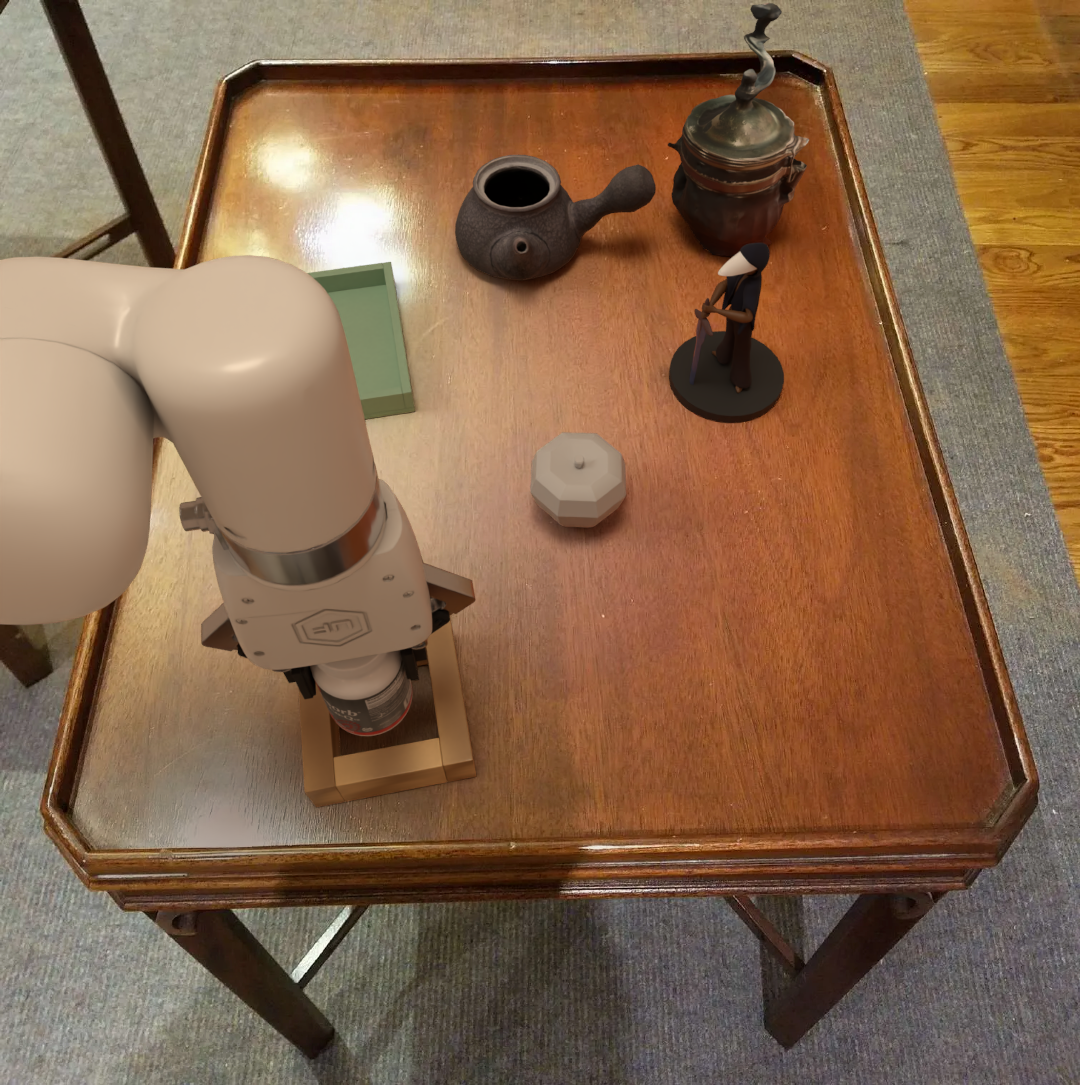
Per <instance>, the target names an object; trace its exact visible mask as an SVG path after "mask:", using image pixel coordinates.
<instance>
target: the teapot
mask: <svg viewBox="0 0 1080 1085" xmlns="http://www.w3.org/2000/svg"><path fill="white" fill-rule="evenodd" d="M472 179H473V181H472V187H471V188H470V190H469V191H468V192H467V193H466V196H465V197H464V199H463V201H462V202H461V206H460V207H459V210H458V213H457V216H456V219H455V226H454V235H455V236H454V237H455V241H456V245H457V248H458V250H459V253H460V255H461V256H462V258H463V259H464V260H465V261H466V262H467V263H468V264H469V266H471V267H473V269H475V270H476V271H479V272H482V273H484V274H486V275H488V276H491V277H494V278H497V279H504V280H511V281H526V280H532V279H537V278H541V277H544V276H548V275H550V274H553V273H555V272H557V271H558V270H560V269H562V268H563V267H564V266H565V265H567V264H568V263H569V262H570V261H571V260H572V259H573V257H574V256H575V254H576V252H577V251H578V249H579V247H580V244H581V241H582V238H583V236H584V235H585V234H586V233H587V232H589V231H590V230H591V229H593V228H594V227H595V226H596V225H597V224H598V223H599V222H600V221H601V220H602V219H603V218H604V217H606V216H608V215H611V214H618V213H620V214H621V213H635V212H637V211H638V210H640V209H642V208H644V207H646V206H647V205H648V204H649V203H651V201H652V199H653V198H654V196H655V195H656V191H657V190H656V189H657V187H656V182H655V180H654V177H653V174H652V172H651V171H650V170H649V169H648V168H647V167H646V166H643V165H642V164H635V165H630V166H627V167H625V168H623V169H621V170H619V171H618V172H617V173H616V174H615V175H614V176H613V177H612V178H611V180H610V182H609V183H608V184H607V186H606V187H605V188H604V189H603V190H602V191H601V192H600V193H599V194H597V195H596V196H594V197H591V198H585V199H580V200H577V201H575V202H574V201H573V199H572V198H571V196H570V195H569V193H568V191H567V190H566V189H565V188H564V186H562V184H561V183H562V180H561V176H560V174H559V172H558V170H557V169H556V168H555V167H554V166H553V165H552V164H550V163H549V162H548V161H546V160H543V159H541V158H539V157H537V156H532V155H529V154H507V155H502V156H498V157H496V158H493V159H490V160H489V161H488V162H486V163H485V164H483V165H481V166H480V167H479V169H478V170H476V173H475V174H474V177H473V178H472Z"/></svg>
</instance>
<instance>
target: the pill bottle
mask: <svg viewBox="0 0 1080 1085" xmlns="http://www.w3.org/2000/svg"><path fill="white" fill-rule="evenodd" d="M310 669H311V673H312V676H313V678H314V680H315V682H316V684H317V686H318V689H319V691H320V693H321V695H322V697H323V699H324V701H325V704H326V706H327V708H328V710H329V712H330V714H331V716H332V718H333V719H334V720H335V722H336V723H337V724H338V725H339V728H341V729H342V730H344V731H346V732H347V733H348V734H349V733H350V734H352V735H355V736H359V737H373V736H377V735H381V734H382V735H383V734H385V733H387V732H389V731H391V730H393V729H394V728H395V727H397V726H398V725H399V724H400V723H401V722H402V721H403V719H404V718H405V717H406V716H407V713H408V712H409V711H410V708H411V705H412V701H413V685H412V684H413V683H412V681H411V680H410V679H407V676H406V673H405V669H404V665H403V661H402V658H401V652H400V650H397V651H392V652H387V653H382V654H376V655H370V656H365V657H359V658H353V659H347V660H342V661H336V662H329V663H323V664H317V665H311V666H310Z"/></svg>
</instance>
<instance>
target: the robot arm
mask: <svg viewBox="0 0 1080 1085" xmlns="http://www.w3.org/2000/svg"><path fill="white" fill-rule="evenodd" d="M308 273H309V272H306V271H304V270H303V269H301V268H299V267H298V266H295V265H294V264H292V263H289V262H287V261H284V260H280V259H277V258H275V257H274V258H273V257H270V256H264V255H262V256H261V255H251V254H249V255H229V256H223V257H217V258H214V259H210V260H206V261H203V262H200V263H198V264H195V265H192V266H190V267H188V268H183V269H182V268H169V267H166V268H165V267H153V266H152V267H151V266H141V265H140V266H139V265H133V264H132V265H130V264H124V263H123V264H122V263H113V262H103V261H95V260H86V259H75V258H66V257H55V256H14V257H8V258H2V259H0V625H8V626H9V625H11V626H34V625H46V624H47V625H48V624H57V623H62V622H66V621H71V620H76V619H79V618H84V617H85V616H88V615H91V614H93V613H95V612H97V611H99V610H101V609H104V608H106V607H108V606H109V605H110V604H111V603H113V602H114V601H116V600H117V599H118V598H119V597H121V596H122V595H123V594H124V593H125V592H126V591H127V590H128V588H130V586H131V585H132V583H133V581H134V580H135V578H136V577H137V576H138V574H139V572H140V570H141V568H142V565H143V564H144V559H145V556H146V553H147V549H148V545H149V537H150V530H151V514H152V494H153V460H154V458H153V457H154V439H156V438H163V439H166V440H167V441H169V442H171V443H172V444H173V446H174V448H175V450H176V452H177V454H178V456H179V458H180V460H181V461H182V463H183V465H184V467H185V469H186V471H187V473H188V474H189V475H188V476H189V477H190V478H191V480H192V483H193V484H194V486H195V488H196V490H197V492H198V493H199V495H200V496H198V497H196V498H195V500H191V501H183V502H180V503H179V507H178V511H179V512H178V513H179V519H180V524H181V526H182V528H183V531H185V532H193V531H197V530H198V531H199V530H200V531H201V532H203V533H206V532H209V534H211V535H213V540H212V547H211V548H212V549H211V550H212V551H211V553H212V562H213V570H214V574H215V578H216V582H217V586H218V589H219V593H220V596H221V599H222V603H221V604H220V605H219V606H218V607H217V608H216V609H214V611H212V612H211V614H209V616H208V617H207V618H205V619H204V620H203V621H202V622H201V624H200V626H201V627H200V633H201V634H200V644H201V646H203V647H206V648H209V649H216V650H220V651H226V652H232V651H237V655H238V657H242V658H244V659H247V660H248V661H249V662H251V663H252V664H253V665H254V666H256V667H257V668H260V669H263V670H268V671H269V670H270V671H272V672H274V673H283V675H284V677H285V679H286V681H287V683H288V684H294V683H295V684H296V686H297V689H298V688H299V690H300V692H301V694H302V696H303V698H304V699H310V698H313V696H315V695H316V683H315V680H314V678H313V676H312V673H311V669H310V666H311V665H317V664H323V663H329V662H336V661H342V660H347V659H353V658H359V657H365V656H370V655H376V654H382V653H387V652H392V651H397V650H400V652H401V658H402V661H403V665H404V669H405V673H406V676H407V679H410V680H411V682H414V681H418V680H420V677H419V669H418V666H417V661H422V660H427V655H426V648H425V647H426V646H427V645H428V640H427V638H428V637H429V636H430V635H431V634H432V633H434V632H435V631H437V630H438V629H439V628H441V627H442V626H444V625H445V624H447V623H448V622H449V621H450V618H451V616H452V615H457V614H459V613H460V612H461V611H463V610H465V609H466V608H468V607H470V606H471V605H472V604H474V603H475V602H476V599H477V598H476V594H475V589H474V582H473V580H472V579H471V578H468V577H465V576H463V575H459V574H457V573H454V572H451V571H448V570H446V569H444V568H443V569H442V568H440V567H438V566H434V565H432V564H429V563H426V562H424V560H423V555H422V553H421V548H420V546H419V543H418V540H417V537H416V534H415V531H414V529H413V526H412V524H411V521H410V519H409V517H408V516H407V515H408V514H407V513H406V511H405V508H404V507H403V505H402V503H401V501H400V500H399V498H398V496H397V495H396V493H394V491H393V490H392V489H391V487H390V486H389V485H388V483H386V481H385V480H383V479H382V478H379V474H378V469H377V466H376V463H375V457H374V454H373V453H374V452H373V449H372V444H371V442H370V437H369V433H368V432H369V431H368V427H367V423H366V419H365V418H364V413H363V409H362V405H361V400H360V396H359V392H358V387H357V383H356V379H355V374H354V370H353V366H352V361H351V357H350V353H349V348H348V344H347V340H346V335H345V332H344V328H343V325H342V322H341V319H340V315H339V312H338V310H337V308H336V306H335V304H334V302H333V300H332V299H331V297H330V296H329V295H328V293H327V292H326V290H325V289H324V288H323V287H322V286H321V285H320V284H319V283H318V282H317V281H316V280H315V279H314V278H313V277H312V276H311V275H309V274H308Z"/></svg>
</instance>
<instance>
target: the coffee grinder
mask: <svg viewBox="0 0 1080 1085" xmlns="http://www.w3.org/2000/svg"><path fill="white" fill-rule="evenodd" d="M749 10H750V12H751V14H752V17H753V18H754V19H755V20H756V22H755V26H754V29H753V30H754V31H752V32H749V33H747V34H744V36H743V40H744V41H745V43H746V44H747V45H748V48H749V49H750V50H751V51H752V52H753V53H754V54H755V55H756V56H757V57H758V61H759V62H760V64H759V65H760V67H759V68H760V71H759V72H758V73H756V71H755V70H754V69H753V68H749V69H747V70H745V71H744V72H743V74H742V77H741V79H740V80H741V81H740V85H739V86H737V88H736V89H735V91H734V94H725V95H721V96H718V97H716V98H710V99H708V100H706V101H702V102H700V103H698V104H696V105H695V106H694V107H693V108H692V110H691V111H690V114H688V115H687V118H686V120H685V122H684V124H683V126H682V129H681V136H680V137H679V138H678V139H677V140H676V142H675V143H672V142H668V143H667V147H669V148H671V149H672V150H673V149H674V150H675V152H677V153H678V155H679V159H680V164H679V165H678V168H677V170H676V172H675V173H674V175H673V179H672V181H673V183H672V184H673V185H672V188H671V191H672V192H671V201H672V204H673V205H674V207H675V209H676V210H677V212H678V213H679V214H680V216H681V218H682V219H683V221H684V222H685V223H686V225H687V226H688V227H689V229H690V231H691V234H692V235H693V236H694V238H695V240H696V241H698V243H699V245H700V246H701V247H702V249H703V250H706V251H707V252H708V253H710V254H711V255H712V256H722V257H733V256H734V255H736V254H737V253H738V252H740V249H741V248H742V247H743V246H744V245H746V244H751V243H764V244H766V245H767V246H769V245H771V244H772V243H773V242H772V240H770V238H768V237H767V236H768V235H769V234H771V233H772V232H773V230H774V229H775V227H776V226H777V224H778V222H779V221H780V219H781V217H782V213H783V209H784V206H785V205H786V204H788V203H790V202H791V201H792V200H793V199H794V196H795V192H796V187H797V186H798V184H799V183H800V182H801V179H802V178H803V175H804V174H805V172H806V169H807V167H808V164H806V163H805V162H803V161H802V160H799V159H796V158H795V157H796V156H797V155H798V153H800V152H801V151H802V150H803V149H804V148H805V146H807V144H808V143H809V141H810V139H809V138H808V137H803V136H800V135H796V133H795V122H794V121H793V120H792V119H791V118H790V117H789V116H788V115H786V113H785V112H784V111H783V109H781V108H780V107H778V106H776V105H775V104H774V103H772V102H771V101H768V100H766V99H762V98H758V97H757V96H758V95H759V94H760V93H761V92H762V91H764V90H766V89H767V88H769V86H770V85H771V84H772V83H773V81H774V79H775V77H776V76H775V75H776V67H775V64H774V60H773V58H772V56H771V55H770V54H769V53H768V51H767V50H766V49H765V45H764V44H765V43H766V42H768V41H769V40H770V39H771V38H770V37H769V36H767V35H766V33H765V31H766V28H767V27H769V25H770V23H772V22H774V21H776V20H777V19H779V17H780V15H782V13H783V12H782V10H781V8H780V7H779V5H777V4H776V3H773V2H764V3H761V4H752V5H751V6H750V9H749Z"/></svg>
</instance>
